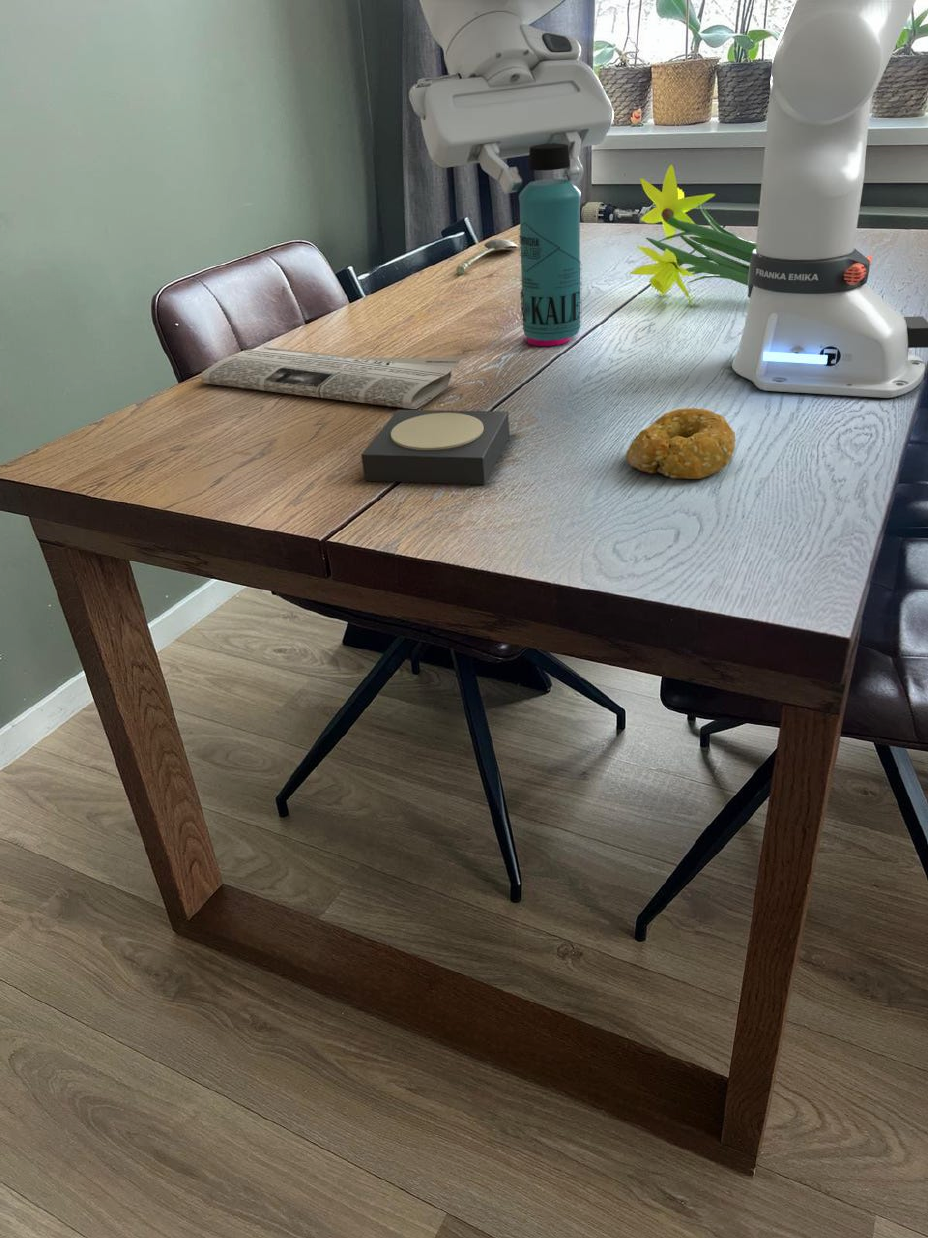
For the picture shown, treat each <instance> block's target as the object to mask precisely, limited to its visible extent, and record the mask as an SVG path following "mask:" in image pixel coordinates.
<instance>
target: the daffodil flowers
mask: <svg viewBox="0 0 928 1238" xmlns="http://www.w3.org/2000/svg"><path fill="white" fill-rule="evenodd" d="M676 177H677V176H676V174H675V169H674V166H673V164H671V163H670V165H669V166H668V168H667V171H666V173H665V176H664V179H663V182H662V188H661V189H662V191H661V190H659V189H658V188H656V187H655V186H654V185H653V184H652V183H650V182H649V181H647V180H646V179H645V178H642V177H639V181H640V183H641V187H642V190H643V191H644V193H645V194H646V196H647V197H648V198H649V200H651V202H652V203H653V204H654V205H655V206H656V207H653V208H651V210H649V211H647V212H646V213H645V214H644V215H642V217H640V221H642V222H644V223H647V224H657V223H661V222H662V227H663V231H664V234H665V237H664V238H662V239H660V240H656V239H653V238H650V237H645V240H647V241H648V242H649V243H651V244H652V245H653V246H655V247H656V248H657V249H659V250H660V251H662V252H663V254H661V253H659V252H658V251H656V250H654V249H652V248H650V247H644V246H639V245H636V247H637V249H639V250H640V251H641V252H642V253H644V254H645V255H646V256H647V257H649V258H650V259H651V260H653V261H654V262H655V263H654V264H644V265H641V266H638V267H636V268H635V269H633V270H632V271H631V272H629V274H630V275H640V276H641V275H642V276H652V277H650V278H649V279H648V283H649V285H651V288H653V289H654V291H656V292H659V293H660V296H661V297H663V296H664V295H665V294H666V293H667V292H668V291H669V290H670V289H671V288H672V287H673V285H674V284H676V285H677V286H678V288H679V289H680V290H681V291H682V293H683V294H685V296H686V298H688V301H689V304H690V305H691V306H692V307H694V304H693V301H692V299H691V296H690V295H689V292H688V289H687V288H686V285H685V283H684V282H683V280H682V278H681V276H683V277H695V275H698V274H703V273H705V274H709V275H703V276H700V277H697V278H694V279H693V280H690V281H688V282H687V284H690V283H693V282H696V281H699V280H703V279H711V278H715V279H716V278H719V279H726V280H731V281H734V282H736V283H739V284H743V285H745V286H747V287H748V276H749V267H750V262H751V256H752V252H753V250H755V249H756V242H754V241H751V240H747V239H743V238H742V237H739V236H737V235H736V234H734V233H733V232H731V231H729V230H727V229H726V228H724V227H722V226H721V225H720V224H719V223H718V222H716V221H715V220H714V219H713V217H711V215H710V214H709V212H708V211H707V210H706V208H705V207H704V206H703V205H702V204H704V203H705V202H707V201H709V200H711V199H712V198H713V197H715V196H716V193H706V194H700V195H692V196H687V197H686V196H685V191H683V189H682V188H681V189H680V187H679V186H678V183H677V178H676ZM697 207H698V208H699V209H700V212H701V214H702V215H703V218H704V219H705V220H706V222H707V224H709V226H710V227H707V226H703V225H701V224H696V223H695V221H694V220H693V219H692V218H691V217H690V216H689V215H688V214H687V212H689V211H692V210H693V209H695V208H697ZM676 230H679V231H682V232H680V233H676ZM675 233H676V234H675ZM690 235H691V236H690ZM687 236H689V237H687ZM678 237H679V238H681V240H682V241H684V242H685V243H686V244H687V245H688V246H690V247H691V248H692V249H693V250H695V251H696V252H698V253H699V254H701V255H702V256H698V255H695V254H692V253H690V252H688V251H685V250H682V249H680V248H677V247H674V246H672V245H669V244H667V243H664V241H666V240H667V242H670V241H671V240H672V239H673V238H678ZM709 248H710V249H709ZM711 249H713V250H716V251H719V252H722V253H724V254H726V255H728V256H731V257H733V258H736V259H738V260H741V261H744V262H746V263H748V264H746V263H743V262H741V261H738V260H736V259H732V258H730V257H728V256H724V255H723V254H720V253H719V252H718V253H717V252H716V251H713V250H711ZM683 265H690V267H687V268H684V267H682V266H683Z"/></svg>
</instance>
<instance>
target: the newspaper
mask: <svg viewBox="0 0 928 1238" xmlns="http://www.w3.org/2000/svg"><path fill="white" fill-rule="evenodd" d="M461 361H462V358H461V357H458V358H457V357H443V358H442V357H353V356H345V355H336V354H327V353H318V352H310V351H300V350H293V349H286V348H285V349H284V348H276V347H267V346H264V348H262V349H261V348H260V349H247V350H242V351H239V352H237V353H234V354H232V355H229V356H227V357H224V358H223V359H220V360H217V362H215V363H214V364H212V365H210V366H209V367H207V368H206V369H205V370H203V371H202V372H201V376H200V379H201V382H202V383H203V384H208V385H209V384H210V385H216V386H217V385H219V386H224V387H225V386H226V387H232V388H233V387H234V388H240V389H248V390H249V389H250V390H258V391H266V392H274V393H280V394H281V393H282V394H289V395H298V396H306V397H314V398H322V399H329V400H337V401H345V402H354V403H362V404H370V405H377V406H378V405H379V406H385V407H395V408H401V409H408V410H418V409H419V408H421V407H422V406H424V405H425V404H427V403H428V402H430V401H432V400H433V399H434V398H435V397H437V396H438V395H440V394H441V393H442V392H443V391H445V390H446V389H448V386H449V384H450V381H451V379H452V371H453V370H455V369H457V367H458V365H459V364H460V362H461Z"/></svg>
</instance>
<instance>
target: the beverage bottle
mask: <svg viewBox="0 0 928 1238" xmlns="http://www.w3.org/2000/svg"><path fill="white" fill-rule="evenodd" d="M567 167H570V158H569V147H568V145H567V144H558V143H548V144H541V145H536V146H532V147H530V150H529V155H528V170H531V171H557V170H561V169H563V168H567ZM518 195H519V196H518V201H519V240H518V243H519V244H518V247H519V248H520V250H519V252H518V254H519V257H520V260H519V261H520V270H521V271H520V275H521V278H520V280H519V281H520V286H521V289H520V315H521V317H520V319H521V326H522V327H521V328H522V331H523V334H524V336H525V337H526V338H527V337H528V338H531V339H535V340H560V339H565V338H569V337H570V338H572V337H575V336H577V335H578V334H579V332H580V328H581V326H582V324H581V323H582V314H581V313H582V312H583V311H582V305H583V304H582V302H583V301H582V298H581V296H582V295H583V294H582V293H581V291H582V288H581V284H582V283H583V282H582V281H581V277H583V276H582V274H581V271H582V265H583V264H582V263H581V191H580V189H579V188H578V187H577V186H576V185H575V184H574V183H572V182H570V181H569V180H565V179H564V178H563V179H562V178H548V179H539V180H534V181H530V182H528V184H526V185H525V187H524V188H523V189H522V190H521V191H520V193H519V194H518Z"/></svg>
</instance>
